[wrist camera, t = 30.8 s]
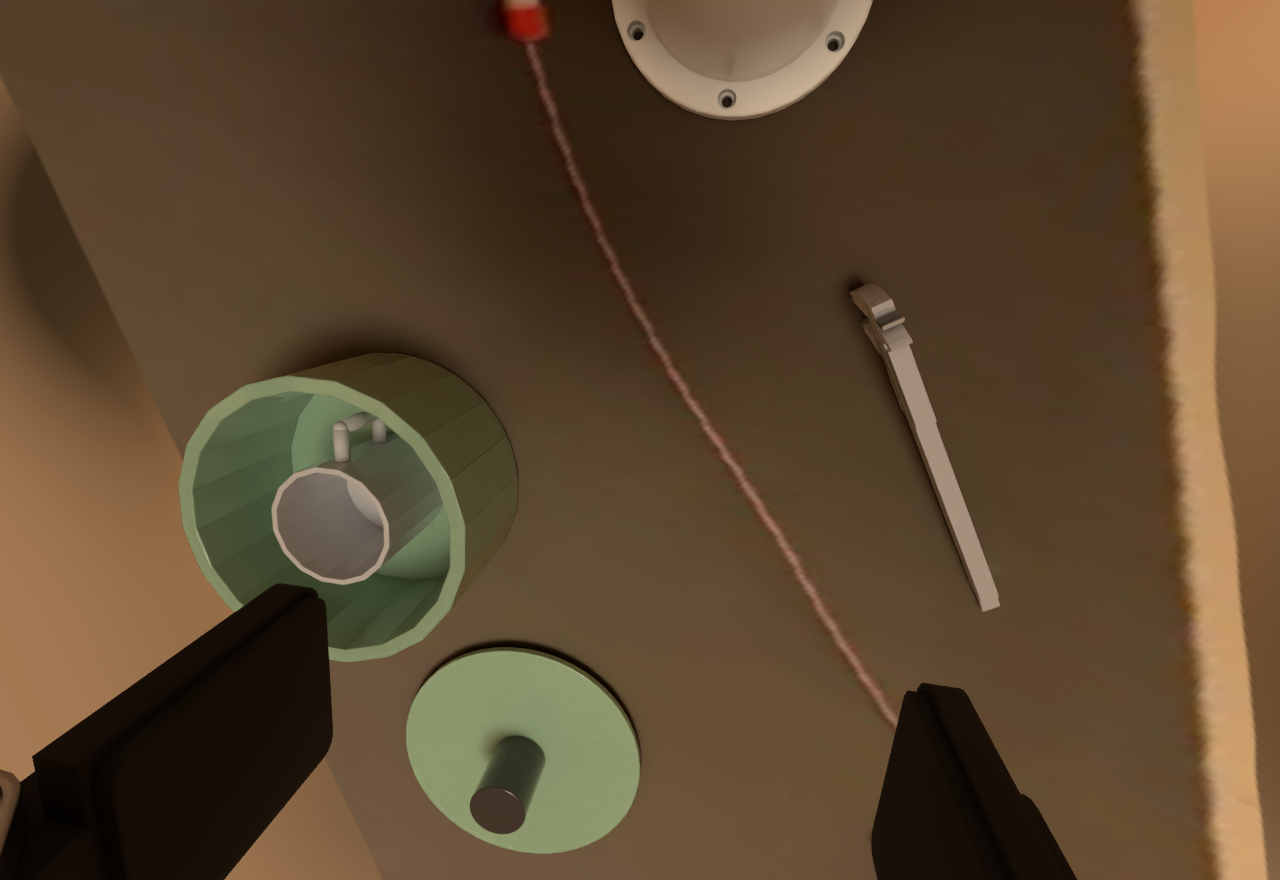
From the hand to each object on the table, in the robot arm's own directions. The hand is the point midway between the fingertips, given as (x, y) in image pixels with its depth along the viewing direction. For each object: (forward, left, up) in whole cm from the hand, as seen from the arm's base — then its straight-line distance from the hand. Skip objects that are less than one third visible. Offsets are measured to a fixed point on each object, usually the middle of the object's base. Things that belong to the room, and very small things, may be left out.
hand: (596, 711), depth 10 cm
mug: (+7, -18, -28) cm, 34 cm away
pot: (+8, -18, -28) cm, 34 cm away
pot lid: (+27, -9, -28) cm, 40 cm away
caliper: (+3, +13, -28) cm, 32 cm away
